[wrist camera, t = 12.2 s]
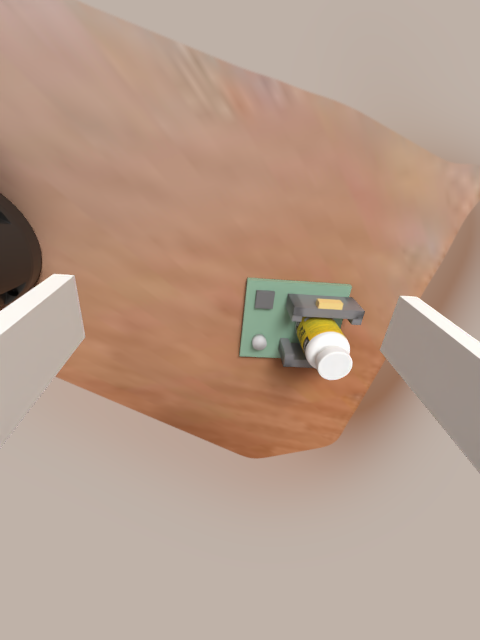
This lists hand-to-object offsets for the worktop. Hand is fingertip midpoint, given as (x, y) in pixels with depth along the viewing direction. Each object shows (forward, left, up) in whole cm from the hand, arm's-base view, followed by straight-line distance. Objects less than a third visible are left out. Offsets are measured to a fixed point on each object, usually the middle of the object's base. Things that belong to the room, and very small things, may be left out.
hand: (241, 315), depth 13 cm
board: (+10, -14, -27) cm, 32 cm away
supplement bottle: (+13, -14, -26) cm, 32 cm away
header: (+13, -14, -27) cm, 33 cm away
